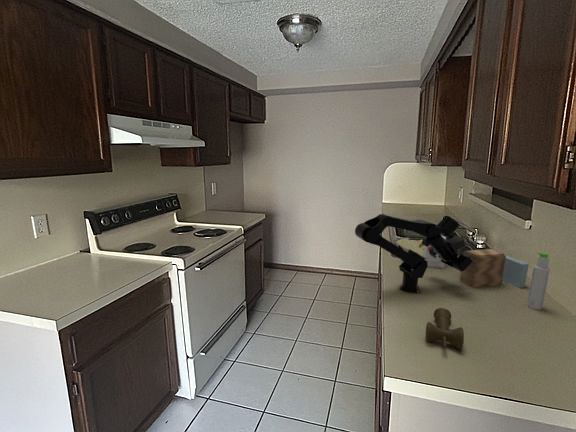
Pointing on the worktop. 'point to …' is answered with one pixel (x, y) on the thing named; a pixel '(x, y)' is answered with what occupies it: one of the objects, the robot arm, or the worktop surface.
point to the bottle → (539, 282)
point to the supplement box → (431, 260)
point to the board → (515, 272)
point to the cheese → (411, 245)
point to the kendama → (444, 330)
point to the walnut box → (484, 268)
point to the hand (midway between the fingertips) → (460, 269)
